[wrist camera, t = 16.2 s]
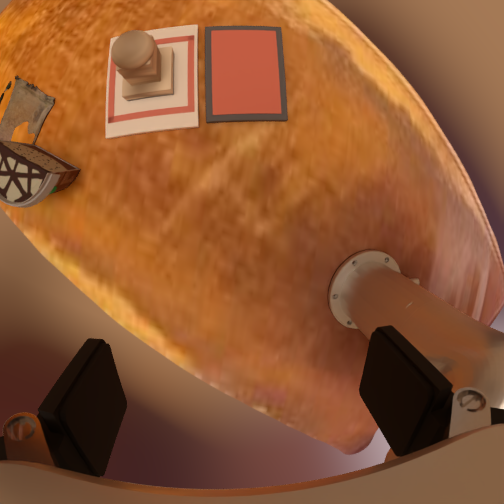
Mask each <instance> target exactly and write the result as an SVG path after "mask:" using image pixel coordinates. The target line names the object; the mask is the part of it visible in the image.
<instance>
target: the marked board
mask: <svg viewBox="0 0 504 504" xmlns="http://www.w3.org/2000/svg"><path fill="white" fill-rule="evenodd" d="M144 32H146V33H147V34H149V35H152V36H153V38H154V40H155V42H156V44H157V47H158V48H163V47H170V46H172V48H173V51H174V95H168V96H160V97H152V98H145V99H139V100H133V101H127V100H125V99H124V98H123V97H122V81H123V77H122V76H121V75H120V74H119V73H118V71H117V70H116V65H115V63H114V62H113V60H112V57H111V49H112V46H113V44H114V42H115V41H116V39H117V38H118V37H119V36H118V37H114V38H111V42H110V51H109V61H108V74H107V91H106V138H107V139H111V138H117V137H123V136H130V135H136V134H143V133H151V132H159V131H167V130H177V129H187V128H199V118H198V25H187V26H178V27H169V28H162V29H155V30H149V31H144Z"/></svg>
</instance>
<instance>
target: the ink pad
mask: <svg viewBox="0 0 504 504" xmlns="http://www.w3.org/2000/svg"><path fill="white" fill-rule="evenodd" d="M205 84H206V122H207V123H218V122H242V121H287V120H288V116H287V99H286V83H285V69H284V56H283V44H282V33H281V27H267V26H213V27H205Z"/></svg>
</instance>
